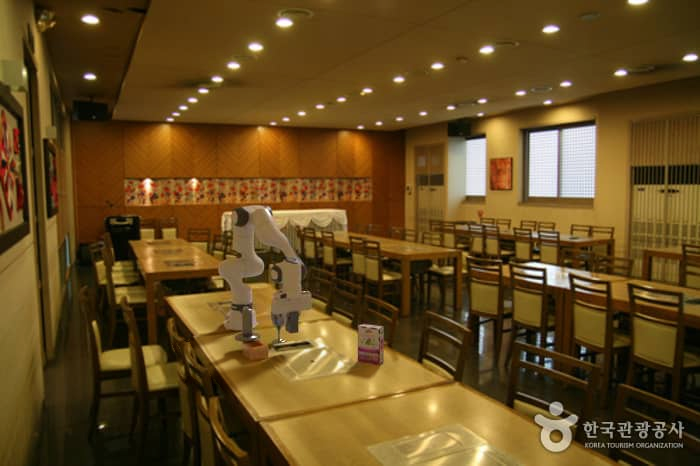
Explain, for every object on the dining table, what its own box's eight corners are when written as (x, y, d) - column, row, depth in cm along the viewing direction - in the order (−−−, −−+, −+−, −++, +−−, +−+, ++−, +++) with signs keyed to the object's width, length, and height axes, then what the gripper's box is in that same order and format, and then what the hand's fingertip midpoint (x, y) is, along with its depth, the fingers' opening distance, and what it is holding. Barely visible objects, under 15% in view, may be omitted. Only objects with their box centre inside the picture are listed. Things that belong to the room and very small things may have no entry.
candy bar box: (384, 361, 242) (384, 326, 241) (379, 364, 238) (379, 328, 236) (362, 357, 247) (362, 323, 246) (357, 361, 243) (357, 325, 241)
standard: (231, 348, 260) (230, 308, 258) (254, 344, 266) (254, 305, 264) (247, 361, 242) (246, 317, 240) (271, 356, 248) (271, 314, 246)
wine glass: (288, 338, 277) (288, 310, 275) (284, 343, 269) (284, 314, 267) (273, 338, 277) (272, 310, 276) (269, 342, 270) (269, 313, 268)
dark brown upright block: (285, 330, 258) (285, 310, 257) (292, 329, 260) (292, 309, 259) (290, 333, 253) (290, 313, 252) (298, 332, 255) (298, 311, 254)
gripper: (308, 289, 263) (308, 316, 264) (269, 293, 252) (269, 322, 254) (314, 291, 257) (314, 319, 259) (274, 296, 247) (275, 325, 248)
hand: (291, 321), depth 256 cm, fingers closed on dark brown upright block, 4 cm apart
